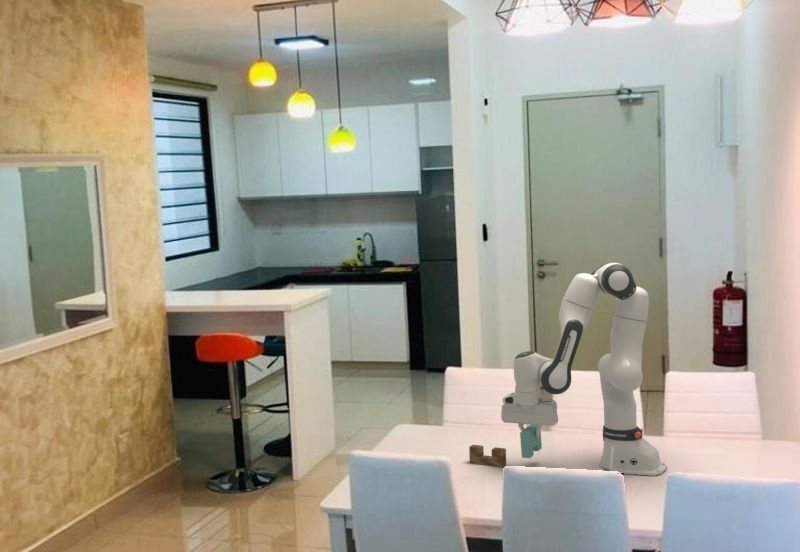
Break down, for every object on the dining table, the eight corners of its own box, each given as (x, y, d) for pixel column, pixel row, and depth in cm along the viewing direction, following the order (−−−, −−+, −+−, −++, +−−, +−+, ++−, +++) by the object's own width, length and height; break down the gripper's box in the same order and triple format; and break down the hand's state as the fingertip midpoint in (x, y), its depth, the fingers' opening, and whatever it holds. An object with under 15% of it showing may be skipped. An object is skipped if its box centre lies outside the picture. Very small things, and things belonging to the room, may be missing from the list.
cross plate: (533, 447, 309) (532, 423, 308) (541, 448, 307) (540, 423, 307) (521, 457, 299) (520, 432, 298) (529, 458, 297) (528, 433, 296)
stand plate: (506, 464, 306) (505, 448, 306) (503, 467, 304) (502, 450, 303) (473, 460, 313) (472, 444, 312) (469, 462, 310) (469, 446, 310)
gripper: (559, 396, 299) (561, 435, 300) (505, 394, 309) (507, 431, 310) (553, 401, 293) (556, 440, 295) (498, 398, 303) (501, 436, 305)
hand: (530, 435), depth 302 cm, fingers closed on cross plate, 3 cm apart
